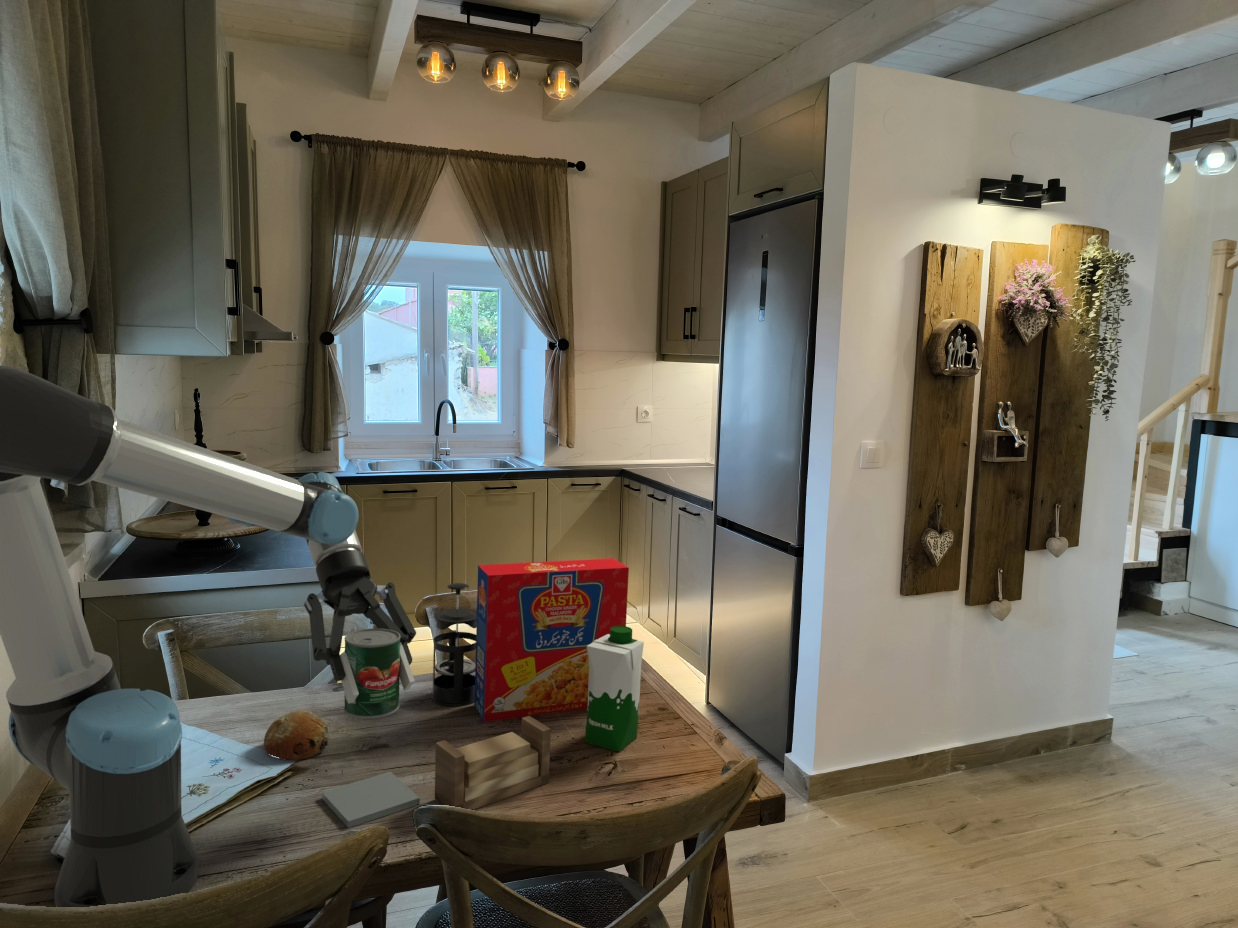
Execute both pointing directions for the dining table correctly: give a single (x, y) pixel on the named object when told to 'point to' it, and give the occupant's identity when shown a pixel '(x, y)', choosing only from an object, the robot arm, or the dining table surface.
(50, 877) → the dining table surface
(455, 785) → the walnut rack
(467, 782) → the offcut stack
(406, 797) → the grey tile
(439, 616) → the french press
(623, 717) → the milk carton
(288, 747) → the bread roll
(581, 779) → the dining table surface
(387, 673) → the canned tomato
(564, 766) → the dining table surface
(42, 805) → the dining table surface
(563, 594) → the pasta box
